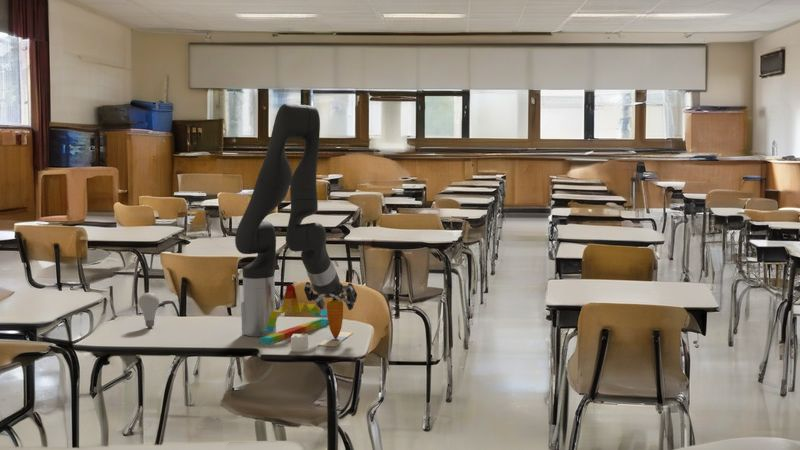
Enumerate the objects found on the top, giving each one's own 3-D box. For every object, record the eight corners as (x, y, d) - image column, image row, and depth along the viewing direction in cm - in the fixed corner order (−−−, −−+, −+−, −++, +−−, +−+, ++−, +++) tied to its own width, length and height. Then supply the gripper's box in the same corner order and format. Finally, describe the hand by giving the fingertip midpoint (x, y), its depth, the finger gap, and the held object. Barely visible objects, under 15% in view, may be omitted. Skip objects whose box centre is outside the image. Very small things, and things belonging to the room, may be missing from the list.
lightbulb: (144, 331, 283) (143, 295, 282) (136, 327, 288) (134, 292, 287) (163, 328, 287) (162, 292, 286) (155, 324, 292) (153, 290, 291)
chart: (322, 323, 291) (321, 276, 289) (330, 324, 289) (329, 276, 288) (259, 344, 265) (257, 292, 264) (267, 345, 264) (266, 293, 262)
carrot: (331, 336, 271) (330, 285, 270) (347, 337, 270) (346, 285, 268) (324, 339, 267) (323, 287, 265) (340, 341, 265) (339, 288, 264)
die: (291, 351, 255) (290, 336, 255) (293, 348, 259) (293, 333, 259) (305, 351, 255) (305, 336, 255) (308, 348, 259) (307, 333, 259)
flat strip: (317, 345, 261) (317, 344, 261) (336, 332, 277) (336, 331, 277) (334, 346, 260) (334, 345, 260) (353, 333, 276) (353, 332, 276)
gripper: (349, 263, 257) (363, 297, 269) (301, 262, 260) (316, 295, 273) (344, 285, 252) (357, 319, 265) (294, 284, 256) (310, 317, 268)
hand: (336, 307), depth 269 cm, fingers open, 8 cm apart
